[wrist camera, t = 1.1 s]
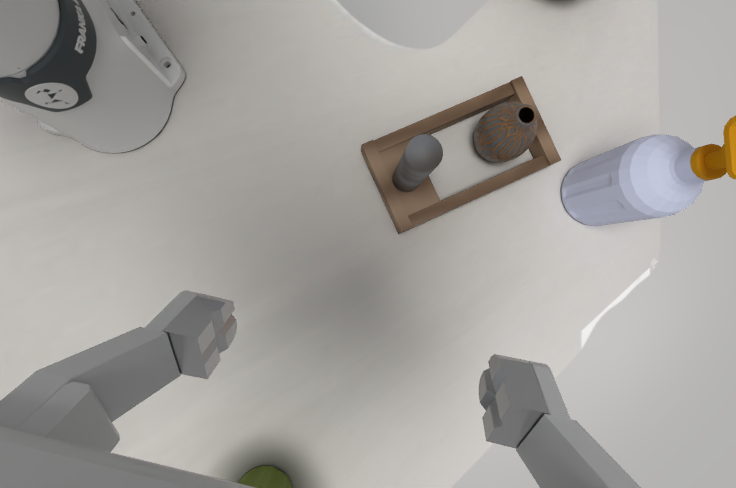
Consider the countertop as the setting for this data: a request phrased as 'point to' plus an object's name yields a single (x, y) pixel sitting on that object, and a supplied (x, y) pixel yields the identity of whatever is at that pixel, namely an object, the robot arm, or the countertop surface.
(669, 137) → the soap bottle
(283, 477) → the plant pot
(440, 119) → the strip frame
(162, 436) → the countertop surface
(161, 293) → the countertop surface
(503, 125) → the vase
